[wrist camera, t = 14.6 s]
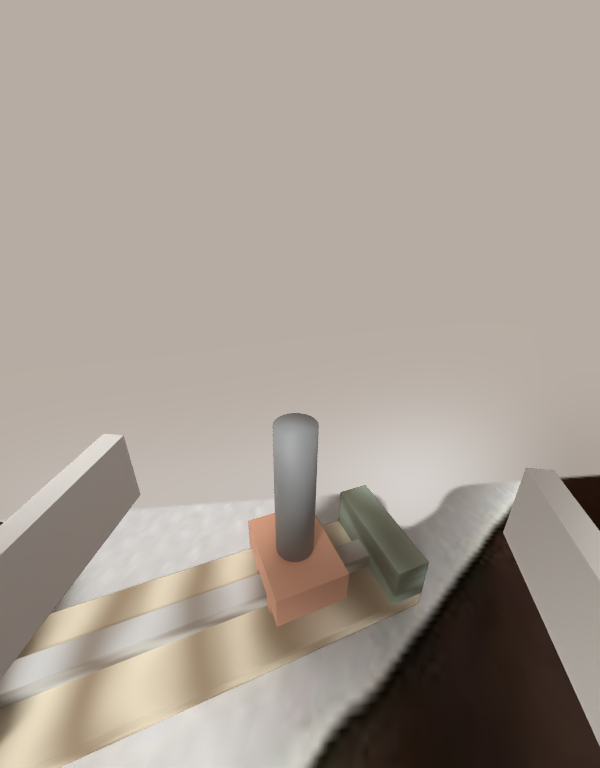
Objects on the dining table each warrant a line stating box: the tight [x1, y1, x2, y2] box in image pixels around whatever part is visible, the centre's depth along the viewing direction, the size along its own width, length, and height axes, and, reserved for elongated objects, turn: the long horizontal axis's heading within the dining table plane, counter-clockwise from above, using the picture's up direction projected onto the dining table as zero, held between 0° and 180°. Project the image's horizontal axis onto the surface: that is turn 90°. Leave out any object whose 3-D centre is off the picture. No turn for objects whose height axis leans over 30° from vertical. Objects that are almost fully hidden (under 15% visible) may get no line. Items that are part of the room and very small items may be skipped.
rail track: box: [0, 485, 429, 768], centre depth 28 cm, size 36×10×6 cm, turn 112°
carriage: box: [248, 413, 349, 627], centre depth 28 cm, size 6×8×16 cm
